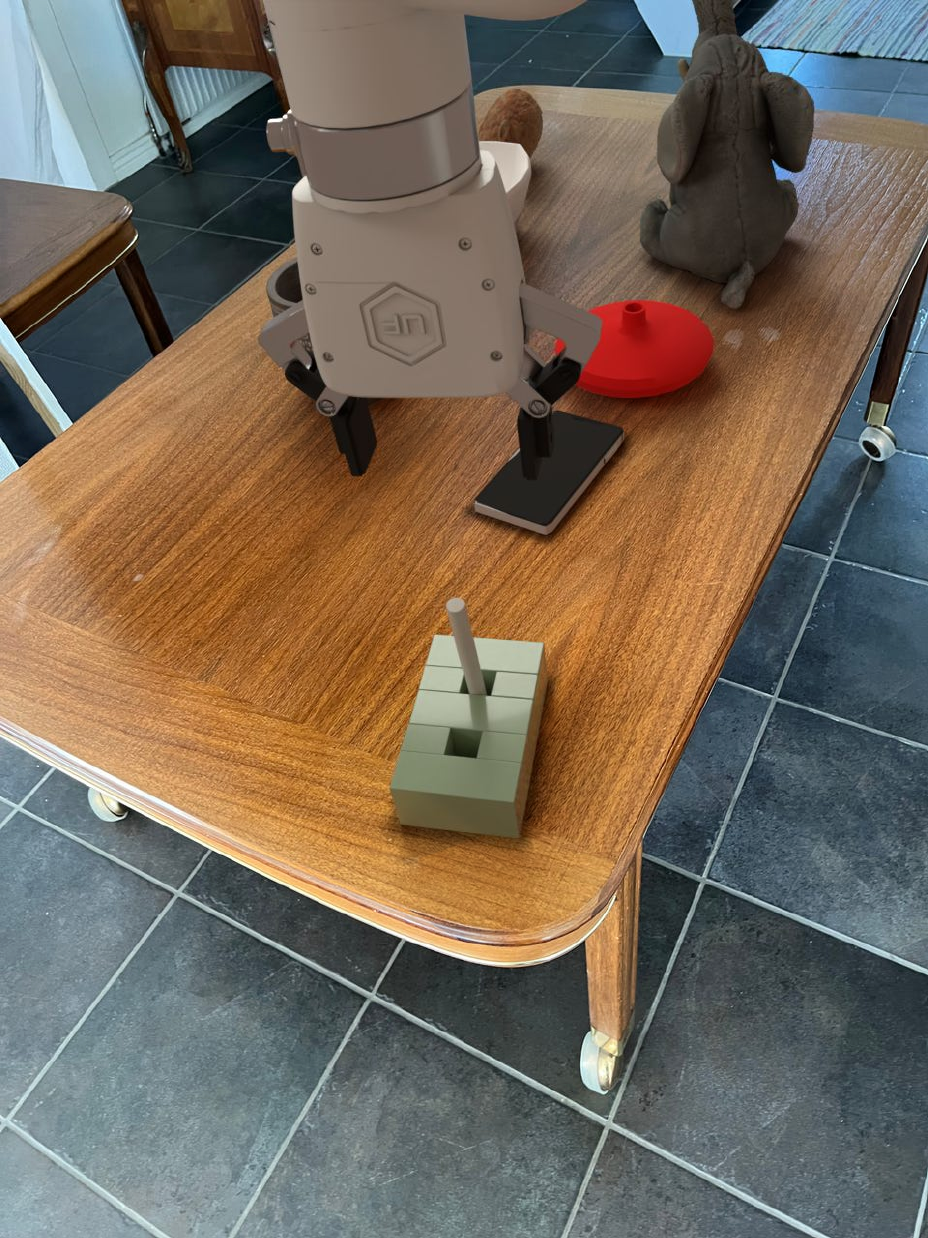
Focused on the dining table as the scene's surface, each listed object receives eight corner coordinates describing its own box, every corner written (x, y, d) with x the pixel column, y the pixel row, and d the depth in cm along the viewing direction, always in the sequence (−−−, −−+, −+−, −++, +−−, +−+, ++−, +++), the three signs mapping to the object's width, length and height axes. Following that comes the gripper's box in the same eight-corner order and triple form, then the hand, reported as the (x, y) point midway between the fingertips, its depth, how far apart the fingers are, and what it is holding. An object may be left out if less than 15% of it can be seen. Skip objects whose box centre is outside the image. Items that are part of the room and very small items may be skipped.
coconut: (464, 191, 132) (456, 114, 125) (490, 152, 140) (483, 78, 132) (532, 192, 129) (527, 114, 122) (554, 153, 137) (550, 77, 130)
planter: (393, 345, 107) (371, 234, 98) (424, 402, 99) (404, 286, 90) (287, 375, 105) (255, 264, 96) (309, 435, 97) (277, 321, 88)
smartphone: (470, 501, 86) (552, 408, 94) (471, 511, 87) (553, 418, 94) (549, 527, 82) (627, 428, 90) (550, 537, 83) (627, 438, 91)
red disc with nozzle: (604, 316, 106) (603, 255, 101) (738, 349, 99) (745, 285, 94) (526, 390, 98) (521, 329, 93) (665, 433, 91) (668, 368, 86)
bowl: (382, 284, 117) (367, 207, 110) (411, 216, 129) (399, 143, 122) (527, 279, 113) (521, 200, 107) (543, 210, 125) (539, 135, 118)
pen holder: (442, 672, 74) (434, 633, 71) (548, 681, 72) (544, 642, 69) (400, 824, 65) (388, 788, 62) (519, 839, 64) (514, 802, 60)
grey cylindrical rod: (494, 714, 71) (466, 597, 60) (491, 728, 70) (463, 613, 59) (478, 713, 71) (447, 596, 60) (475, 727, 70) (444, 612, 59)
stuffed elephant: (692, 200, 122) (706, -52, 103) (839, 244, 111) (887, -30, 91) (590, 262, 115) (584, 2, 95) (737, 316, 103) (765, 33, 83)
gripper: (169, 189, 40) (280, 503, 53) (583, 167, 36) (598, 512, 49) (233, 118, 45) (321, 420, 57) (604, 92, 41) (612, 423, 53)
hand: (448, 462), depth 53 cm, fingers open, 9 cm apart
